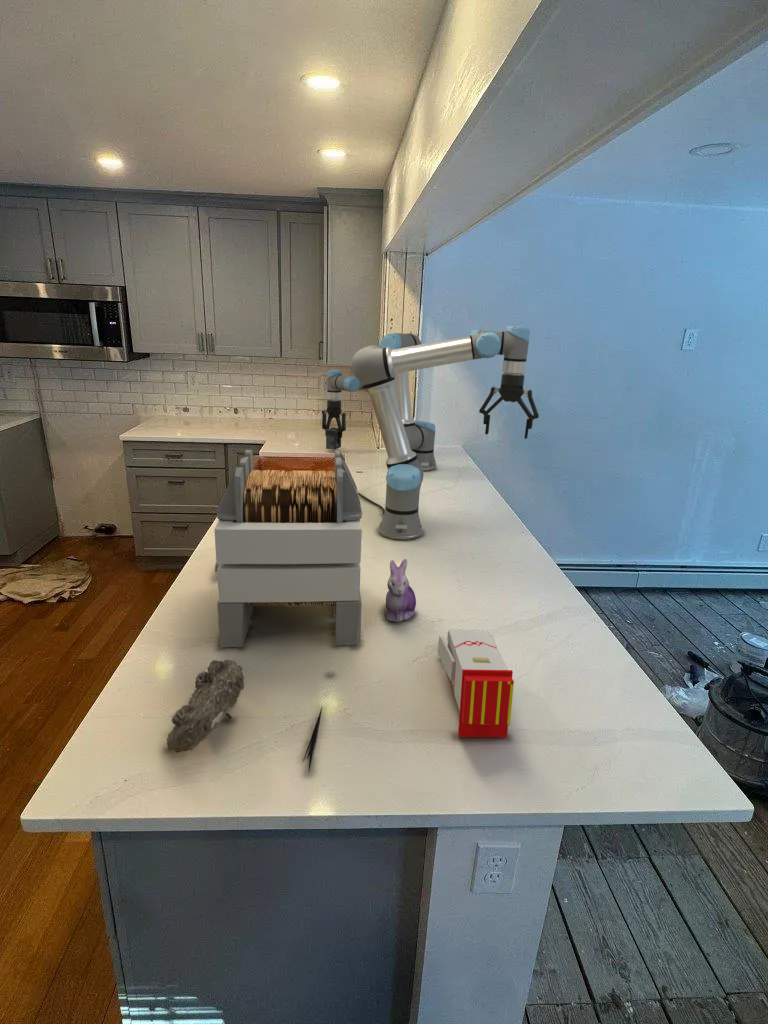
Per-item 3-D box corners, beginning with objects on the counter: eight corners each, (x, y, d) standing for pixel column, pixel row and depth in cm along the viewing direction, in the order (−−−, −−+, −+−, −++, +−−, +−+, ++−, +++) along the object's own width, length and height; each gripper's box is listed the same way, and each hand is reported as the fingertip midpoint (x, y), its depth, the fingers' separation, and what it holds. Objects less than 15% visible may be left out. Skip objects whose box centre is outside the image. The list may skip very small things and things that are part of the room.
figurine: (392, 627, 141) (395, 572, 136) (374, 608, 149) (376, 556, 144) (425, 619, 145) (429, 566, 140) (405, 601, 154) (408, 550, 149)
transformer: (237, 581, 160) (230, 440, 146) (353, 580, 164) (356, 442, 150) (217, 649, 129) (206, 477, 115) (361, 646, 132) (366, 479, 119)
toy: (488, 613, 130) (523, 677, 101) (484, 667, 133) (517, 744, 104) (435, 612, 130) (455, 676, 101) (432, 666, 133) (451, 743, 103)
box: (335, 450, 304) (335, 430, 300) (325, 449, 306) (325, 429, 302) (341, 447, 311) (341, 428, 307) (332, 446, 313) (331, 427, 309)
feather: (331, 679, 122) (336, 673, 122) (307, 777, 96) (313, 769, 95) (324, 675, 122) (329, 669, 121) (298, 772, 95) (304, 764, 95)
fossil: (192, 660, 117) (244, 628, 112) (224, 691, 120) (276, 661, 115) (142, 746, 98) (202, 712, 93) (182, 779, 101) (242, 748, 96)
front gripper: (552, 375, 191) (543, 437, 198) (478, 370, 198) (472, 430, 206) (550, 377, 184) (541, 441, 191) (474, 372, 192) (468, 433, 199)
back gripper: (353, 400, 300) (352, 443, 308) (321, 397, 306) (321, 439, 313) (347, 402, 293) (346, 446, 301) (315, 399, 299) (315, 442, 307)
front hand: (506, 435), depth 199 cm, fingers open, 13 cm apart
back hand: (333, 442), depth 307 cm, fingers closed on box, 6 cm apart
